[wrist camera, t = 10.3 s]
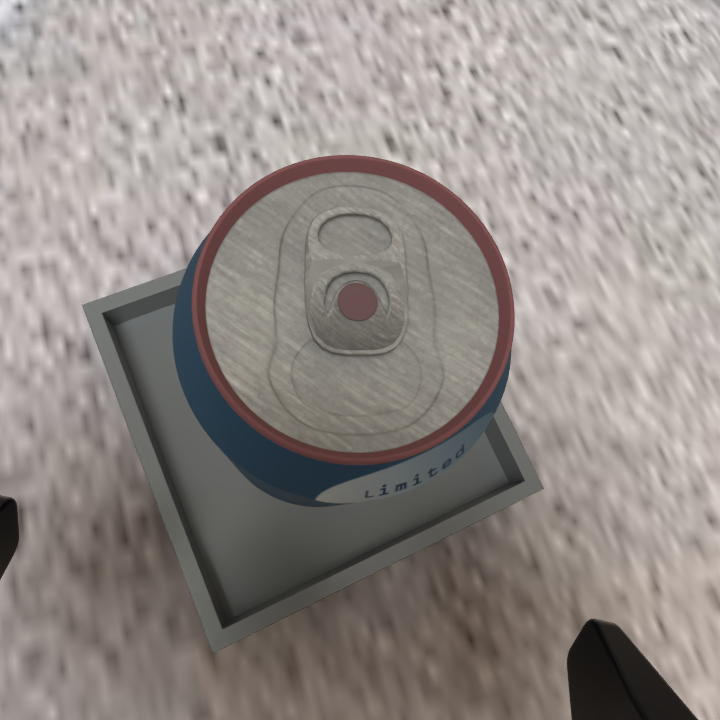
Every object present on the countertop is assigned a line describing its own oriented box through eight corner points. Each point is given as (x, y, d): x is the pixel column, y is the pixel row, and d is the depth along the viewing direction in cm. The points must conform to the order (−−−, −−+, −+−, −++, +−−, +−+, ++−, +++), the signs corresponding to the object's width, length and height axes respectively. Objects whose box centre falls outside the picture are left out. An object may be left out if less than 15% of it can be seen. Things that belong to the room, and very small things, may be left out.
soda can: (414, 504, 22) (567, 496, 10) (216, 510, 21) (141, 508, 9) (405, 320, 23) (529, 134, 12) (222, 317, 23) (163, 113, 11)
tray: (219, 639, 20) (212, 653, 18) (98, 322, 22) (81, 305, 20) (521, 490, 23) (543, 488, 21) (389, 218, 25) (398, 193, 23)
